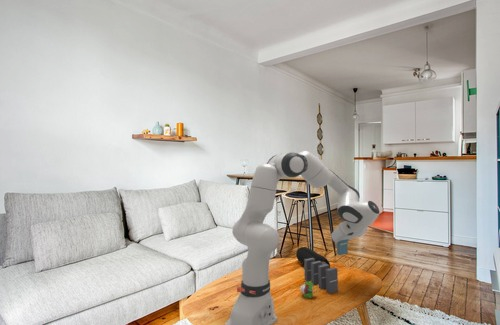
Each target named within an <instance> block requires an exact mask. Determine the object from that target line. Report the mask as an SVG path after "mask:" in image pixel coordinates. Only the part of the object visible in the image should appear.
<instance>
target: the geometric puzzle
mask: <svg viewBox="0 0 500 325" xmlns="http://www.w3.org/2000/svg"><path fill="white" fill-rule="evenodd" d="M313 284H314V283H311V281H306V280H304V284H301V286H300V287H299V289H300V291H301V292H302V293H303V294H302V296H303V297H305V298H309V299H312V298H313V297H314V295H315V294H314V293H317V292H318V291H317V289H316V287H314V285H313ZM313 294H314V295H313Z"/></svg>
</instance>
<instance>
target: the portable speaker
mask: <svg viewBox="0 0 500 325" xmlns="http://www.w3.org/2000/svg"><path fill="white" fill-rule="evenodd" d="M295 256H296V259H297V260H298V262H300V263H301V264H303V265H304V260H305V259H309V258H314V259H315V262H316V261H321V262H322V265H324V264H328V265H329V269H330V268H331V264H330V261H329V260H328V259H327V258H326V257H325V256H323V255H321V254H319V253H317V252H316V251H314V250H312V249H310V248H309V247H307V246H302V247H300V248H299V247H298V249H297V250H296V255H295Z"/></svg>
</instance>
